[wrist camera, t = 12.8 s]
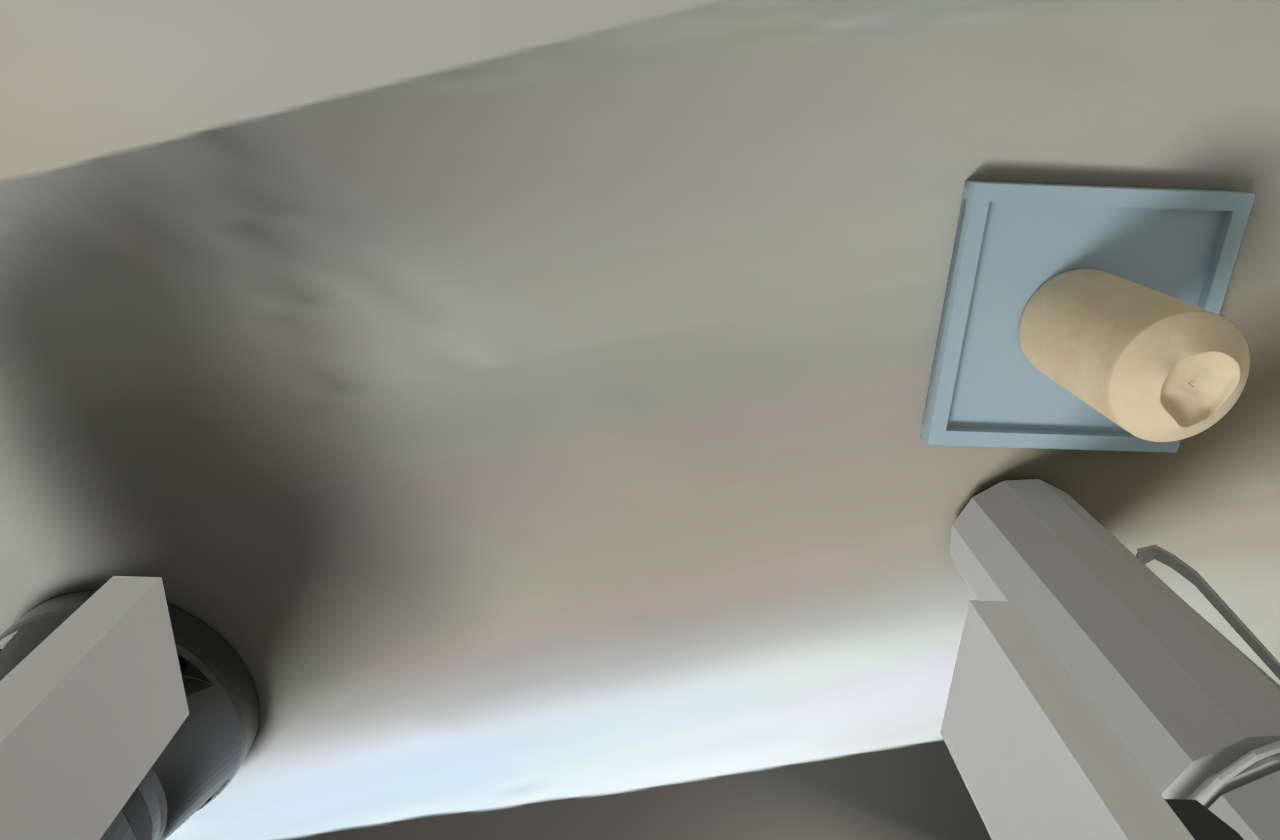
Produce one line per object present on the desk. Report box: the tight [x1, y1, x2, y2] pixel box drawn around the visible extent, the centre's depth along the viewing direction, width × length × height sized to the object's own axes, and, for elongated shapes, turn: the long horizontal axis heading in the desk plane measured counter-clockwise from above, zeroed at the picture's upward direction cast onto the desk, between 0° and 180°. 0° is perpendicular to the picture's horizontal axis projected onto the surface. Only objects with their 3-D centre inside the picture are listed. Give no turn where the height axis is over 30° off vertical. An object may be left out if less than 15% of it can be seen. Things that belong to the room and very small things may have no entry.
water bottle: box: [949, 479, 1280, 840], centre depth 34 cm, size 9×8×25 cm
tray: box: [920, 180, 1256, 453], centre depth 41 cm, size 13×13×1 cm
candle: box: [1018, 269, 1250, 442], centre depth 36 cm, size 6×6×10 cm
